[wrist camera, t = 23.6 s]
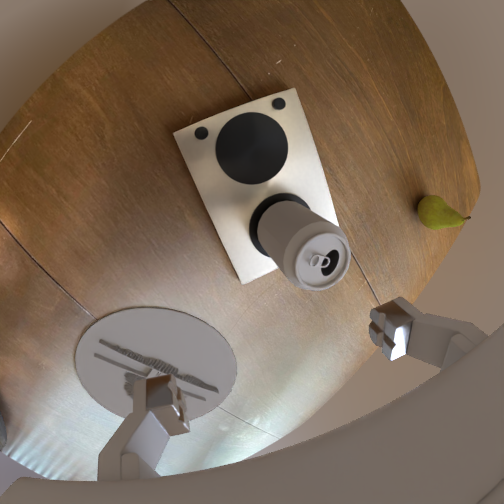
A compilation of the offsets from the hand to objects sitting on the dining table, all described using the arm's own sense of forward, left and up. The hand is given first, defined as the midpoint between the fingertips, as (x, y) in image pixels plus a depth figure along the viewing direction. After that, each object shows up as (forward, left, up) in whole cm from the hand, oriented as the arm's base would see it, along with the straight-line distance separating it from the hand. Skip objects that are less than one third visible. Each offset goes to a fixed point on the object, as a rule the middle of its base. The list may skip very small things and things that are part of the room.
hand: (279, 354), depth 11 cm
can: (+8, +8, -28) cm, 30 cm away
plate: (+23, -20, -29) cm, 42 cm away
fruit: (+16, +34, -29) cm, 48 cm away
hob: (+2, +8, -29) cm, 30 cm away
